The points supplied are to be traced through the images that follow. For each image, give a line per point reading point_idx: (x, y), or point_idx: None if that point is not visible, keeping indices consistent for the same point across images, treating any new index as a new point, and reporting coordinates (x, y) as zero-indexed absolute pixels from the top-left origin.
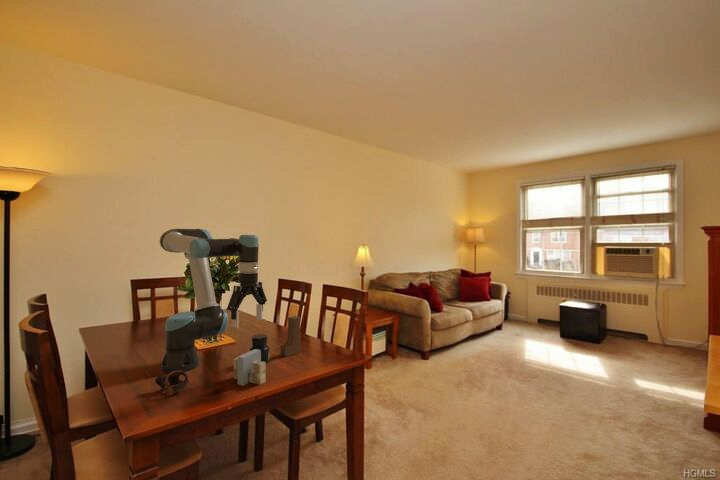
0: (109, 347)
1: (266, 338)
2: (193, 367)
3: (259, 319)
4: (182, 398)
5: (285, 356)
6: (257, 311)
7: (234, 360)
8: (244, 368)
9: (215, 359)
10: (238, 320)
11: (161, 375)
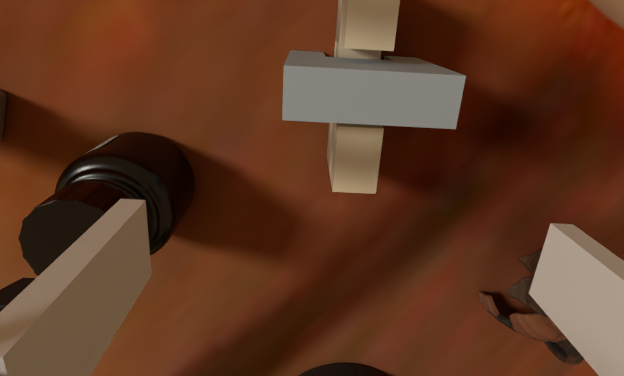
0: None
1: (54, 197)
2: (341, 366)
3: (145, 227)
4: (582, 205)
5: (4, 93)
6: (102, 330)
7: (375, 185)
8: (431, 66)
9: (225, 361)
10: (613, 270)
11: (576, 356)
